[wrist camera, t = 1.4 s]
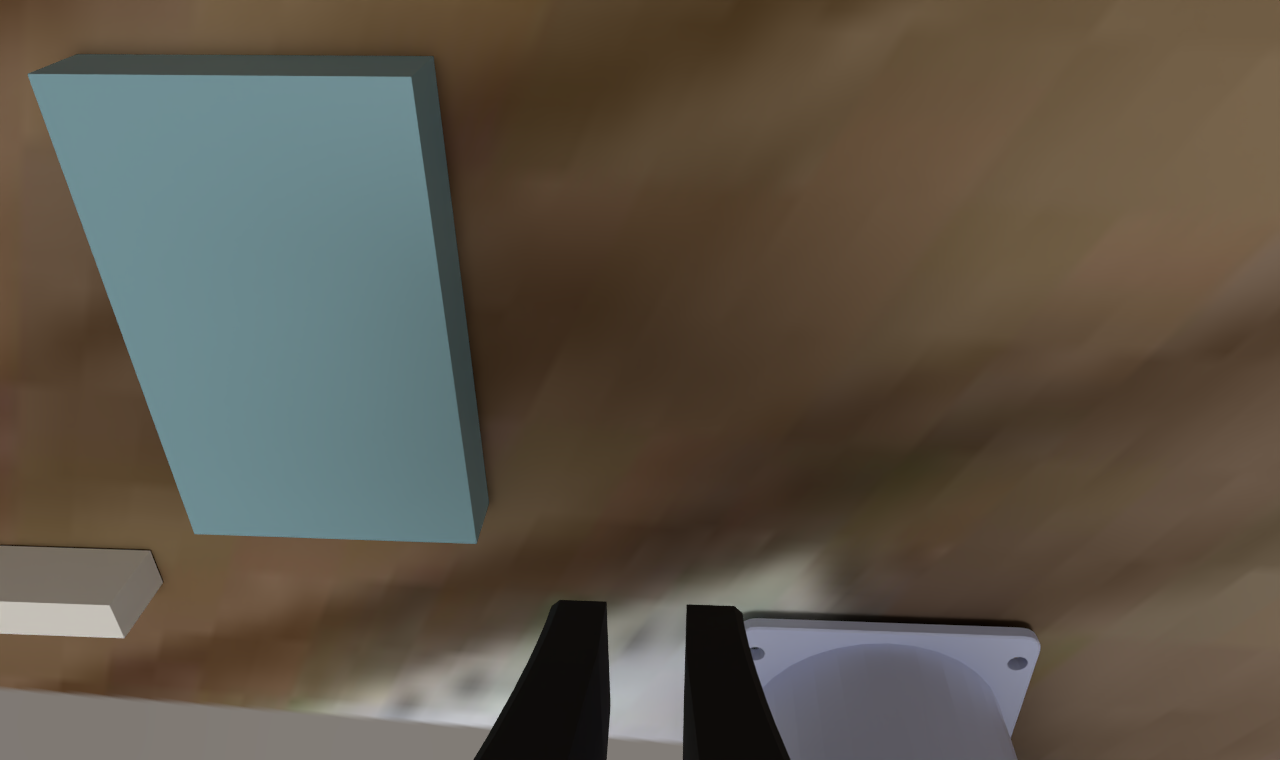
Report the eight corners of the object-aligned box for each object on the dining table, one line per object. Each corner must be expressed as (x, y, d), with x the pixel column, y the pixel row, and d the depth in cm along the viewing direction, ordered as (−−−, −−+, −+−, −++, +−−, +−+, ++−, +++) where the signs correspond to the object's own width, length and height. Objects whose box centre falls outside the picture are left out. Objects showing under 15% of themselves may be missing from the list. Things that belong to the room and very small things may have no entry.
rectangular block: (492, 490, 23) (476, 544, 22) (230, 482, 24) (194, 534, 22) (439, 50, 17) (411, 76, 16) (90, 48, 18) (27, 73, 16)
